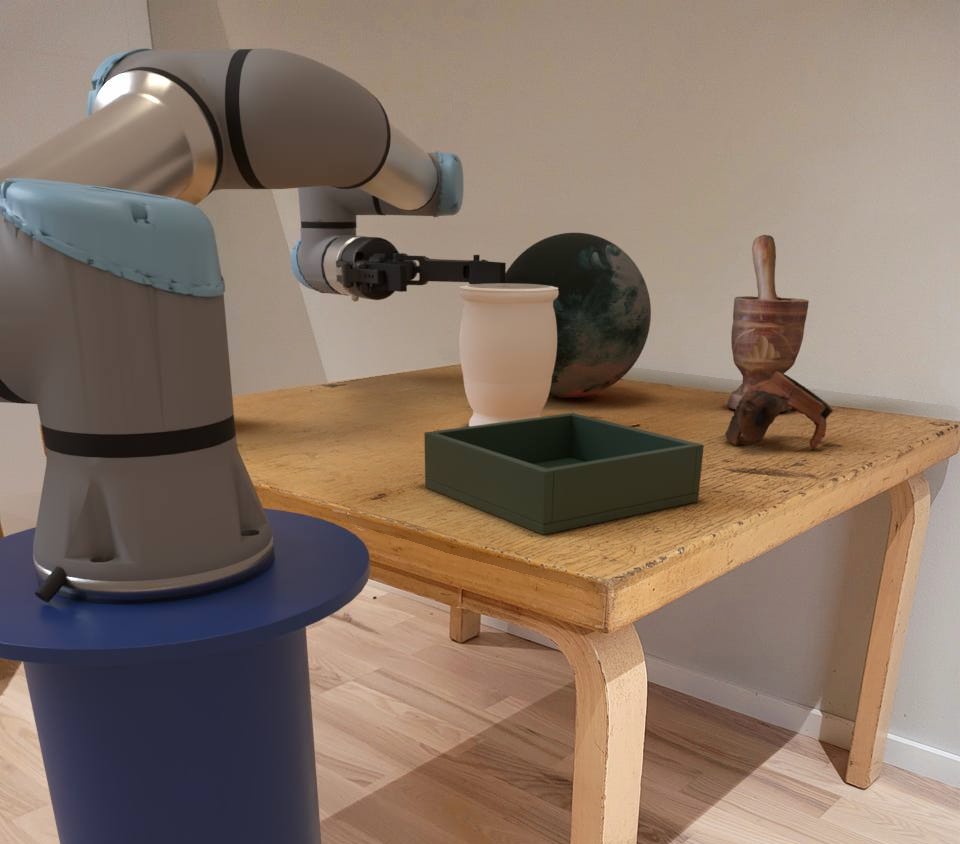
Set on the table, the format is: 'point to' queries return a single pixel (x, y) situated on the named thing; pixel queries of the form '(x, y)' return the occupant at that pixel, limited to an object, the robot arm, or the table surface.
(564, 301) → the decorative sphere
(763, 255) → the mortar and pestle
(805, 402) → the brown arched piece
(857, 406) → the table surface
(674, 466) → the bin
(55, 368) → the robot arm
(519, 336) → the jar
